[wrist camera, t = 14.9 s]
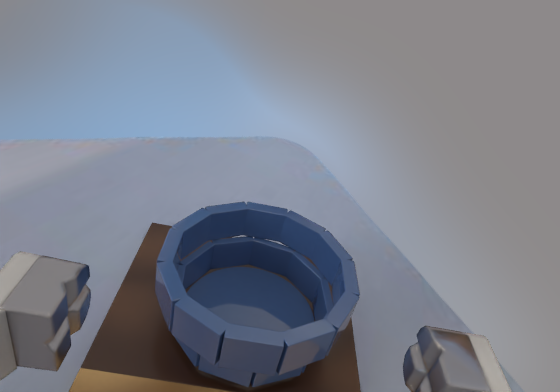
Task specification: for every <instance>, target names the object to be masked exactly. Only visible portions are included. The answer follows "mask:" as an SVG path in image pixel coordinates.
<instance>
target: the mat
mask: <svg viewBox="0 0 560 392" xmlns="http://www.w3.org/2000/svg"><path fill="white" fill-rule="evenodd" d="M170 228H171V229H172V226H168V225H162V224H157V223H152V224H151V226H150V228H149V230H148V232H147V234H146V236H145V238H144V240H143V242H142V244H141V246H140V248H139V250H138V252H137V254H136V256H135V258H134V260H133V262H132V265H131V267H130V269H129V271H128V273H127V275H126V277H125V279H124V281H123V283H122V285H121V287H120V289H119V291H118V293H117V295H116V297H115V299H114V301H113V303H112V305H111V307H110V309H109V311H108V313H107V315H106V317H105V319H104V321H103V323H102V325H101V327H100V329H99V331H98V333H97V335H96V337H95V339H94V342H93V344H92V346H91V348H90V350H89V352H88V354H87V356H86V358H85V360H84V362H83V364H82V366H81V368H85V369H91V370H98V371H104V372H110V373H117V374H123V375H129V376H136V377H142V378H149V379H155V380H161V381H168V382H174V383H180V384H187V385H193V386H200V387H206V388H212V389H219V390H225V391H231V392H361V391H360V383H359V375H358V368H357V360H356V352H355V344H354V336H353V328H352V321H351V318H350V321H349V323H348V325H347V326H346V328H345V330H344V331H343V333H342V334H341V336H340V337H339V339H338V340H337V342H336V344H335V345H334V347H333V348H332V350H331V351H330V353H329V354H328V356H325V358H324V359H321V360H319V361H316V362H313V363H311V364H309V366H308V367H307V369H306V370H305V371H304V373H302V372H301V374H300V375H299V376H296V377H292V378H288V379H284V380H280V381H276V382H272V383H268V384H265V385H261V386H257V387H252V385H251V382H250V385H249V387H246V386H243V385H240V384H237V383H234V382H231V381H229V380H226V379H223V378H220V377H217V376H214V375H212V374H209V373H206V372H203V371H200V370H198V367H199V365H198V366H197V367H195V366H194V365H193V363H192V362H191V360H190V359H189V358H188V356H187V355H186V353H185V352H184V350H183V349H182V347H181V346H180V344H179V343H178V342H177V340H176V339H175V337H174V336H173V335H172V333H171V331H169V329H168V326H167V324H166V321H165V318H164V315H163V313H162V310H161V307H160V304H159V302H158V299H157V296H156V294H155V283H156V266H157V258H158V256H159V253H160V251H161V249H162V246H163V244H164V241H165V239H166V236H167V234H168V231H169V229H170ZM228 238H233V237H228ZM222 239H225V238H222ZM207 242H208V241H207ZM207 242H206V243H207ZM211 242H212V240H211ZM206 243H204V244H206ZM204 244H203V245H204ZM203 245H201V246H203ZM201 246H200V247H201ZM200 247H199V248H200ZM199 248H197V249H199ZM197 249H196V250H197ZM196 250H194V251H196ZM194 251H193V252H194ZM294 251H295V250H294ZM193 252H192V253H193ZM192 253H190V254H192ZM190 254H189V255H190ZM189 255H187V256H189ZM187 256H186V257H187ZM303 256H304V255H303ZM186 257H184V258H183V259H185V258H186ZM304 257H305V258H306V259H307V260H308V261H309V262H311V263H312V264H313V265H314V266H315V267H316V265H315V264H314V263H313V262H312V260H311V259H309V258H308V257H306V256H304ZM183 259H182V260H183ZM182 260H181V261H182ZM233 267H250V268H257V269H261V268H258V267H255V266H252V265H241V266H233ZM225 268H230V267H225ZM316 268H317V267H316ZM220 269H224V268H218V269H210V270H209V271H208V272H207V273H205V274H204V275H203V276H205V275H207V274H209V273H211V272H214V271H217V270H220ZM317 269H318V268H317ZM261 270H264V269H261ZM318 270H319V269H318ZM265 271H267V270H265ZM268 272H270V271H268ZM271 273H273V272H271ZM273 274H275V275H278V276H280V277H281V278H283V279H285V280H286V281H288V282H289V283H291V284H292V285H293V286H294V287H296V286H295V285H294V284H293V283H292V282H291V281H290V280H288V279H287V278H286V277H285V276H282V275H279V274H276V273H273ZM203 276H202V277H203ZM202 277H200V278H199V279H201V278H202ZM199 279H198V280H199ZM325 279H326V278H325ZM198 280H197V281H198ZM197 281H195V282H194V283H196V282H197ZM194 283H193V284H194ZM193 284H192V285H193ZM328 284H329V282H328ZM192 285H190V286H189V287H188V288H187V289H185V290H186V293H187V291H188V290H189V289H190V288H191V286H192ZM296 288H297V287H296ZM329 288H330V292H331V297H332V287H331V285H330V284H329ZM297 289H298V288H297ZM298 290H299V289H298ZM299 291H300V290H299ZM300 292H301V291H300ZM301 294H302V295H303V296H304V297H305V299H306V300H307V302H308V304H309V305H310V308H311V310H312V313H313V316H314V312H313V306H312V302H311V301H310V300H309V299H308V298H307V297H306V296H305V295H304V294H303V293H302V292H301ZM332 301H333V297H332ZM314 321H315V317H314Z"/></svg>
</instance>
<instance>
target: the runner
mask: <svg viewBox="0 0 560 392" xmlns="http://www.w3.org/2000/svg"><path fill="white" fill-rule="evenodd" d="M69 392H231V391H225V390H219V389H212V388H206V387H200V386H193V385H187V384H180V383H174V382H168V381H161V380H155V379H149V378H142V377H136V376H129V375H123V374H117V373H110V372H104V371H98V370H91V369H85V368H80V370H79V372H78V374H77V376H76V378H75V380H74V382H73V384H72V386H71V388H70V390H69Z"/></svg>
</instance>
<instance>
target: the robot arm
mask: <svg viewBox="0 0 560 392" xmlns="http://www.w3.org/2000/svg"><path fill="white" fill-rule="evenodd" d="M89 277H90V273H89V266H88V265H86V264H81V263H76V262H72V261H67V260H62V259H57V258H52V257H47V256H41V255H36V254H31V253H26V252H21V251H20V252H18V253H17V254H15V255H13V256H12V257H11V258H10V260H9V261H8V262H7V263H6V264H5V265H4V267H3V268H2V269H1V270H0V380H2V379H3V378H5V377H6V376H7V375H9V374H10V373H11V372H13V371H14V370H15V369H17V366H20V367H28V368H35V369H43V370H50V371H58V369H59V367H60V365H61V363H62V362H63V360H64V358H65V356H66V354H67V352H68V351H69V349H70V347H71V338H70V335H72V334H73V333H75V332H77V331H78V330H80V328H81V326H82V324H83V322H84V320H85V318H86V315H87V312H88V309H89V305H90V298H91V292H90V289H89V288H88V287H87V285H86V282H87V281H88V279H89ZM417 339H418V343H416V344H414V345H412V346H410V347H409V349H408V351H407V352H406V354H405V358H404V364H403V375H404V380H405V384H406V386H407V387H408V388H409V389H410V391H411V392H512V391H511V389H510V387H509V385H508V382H507V380H506V378H505V376H504V374H503V371H502V369H501V367H500V365H499V363H498V360H497V358H496V356H495V354H494V352H493V349H492V347H491V345H490V343H489V341H488V339H487V338H486V337H485V336H482V335H476V334H470V333H463V332H459V331H453V330H447V329H442V328H436V327H430V326H424V327H422V328H421V329H420V330H419V332H418V334H417Z"/></svg>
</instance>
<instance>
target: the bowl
mask: <svg viewBox="0 0 560 392" xmlns="http://www.w3.org/2000/svg"><path fill="white" fill-rule="evenodd" d="M325 230H326V229H325V228H324V227H322V226H320V225H318V224H316V223H314V222H312V221H310V220H308V219H307V218H305V217H303V216H301V215H299V214H297V213H295V212H293V211H291V210H290V211H289V212H288V209H285V208H279V207H274V206H269V205H263V204H258V203H252V202H247V205H246V203H245V202H238V203H230V204H222V205H215V206H207V207H205V209H204V208H201V209H199V210H198V211H196V212H194V213H193V214H191V215H190V216H188V217H186V218H185V219H183V220H181V221H180V222H178V223H176V224H175V225H173V226H172V229H171V228H170V229H169V231H168V234H167V236H166V239H165V241H164V244H163V246H162V249H161V251H160V253H159V256H158V258H157V266H156V283H155V294H156V296H157V299H158V302H159V304H160V307H161V310H162V313H163V315H164V318H165V321H166V324H167V326H168V329H169V331H171V333H172V335H173V336H174V337H175V339H176V340H177V342H178V343H179V344H180V346H181V347H182V349H183V350H184V352H185V353H186V355H187V356H188V358H189V359H190V360H191V362H192V363H193V365H194V366H195V367H197V366H198V365H199V367H198V370H200V371H203V372H206V373H209V374H212V375H214V376H217V377H220V378H223V379H226V380H229V381H231V382H234V383H237V384H240V385H243V386H246V387H249V385H250V382H251V385H252V387H257V386H261V385H265V384H268V383H272V382H276V381H280V380H284V379H288V378H292V377H296V376H299V375H300V374H301V372H302V373H304V371H305V370H306V369H307V367H308V366H309V364H311V363H313V362H316V361H319V360H321V359H324V358H325V356H328V354H329V353H330V351H331V350H332V348H333V347H334V345H335V344H336V342H337V340H338V339H339V337H340V336H341V334H342V333H343V331H344V330H345V328H346V326H347V325H348V323H349V321H350V318H351V316H352V314H353V311H354V309H355V307H356V304H357V302H358V300H359V295H360V293H359V287H358V281H357V275H356V270H355V264H354V261H352V257H351V256H350V255H349V254H348V252H347V251H346V250H345V249H344V248H343V247H342V246H341V244H340V243H339V242H338V241H337V240H336V239H335V238H334V236H333V235H332V234H331V233H330V232H329V231H325ZM239 235H245V236H246V237H236V238H228V237H234V236H239ZM253 237H254V239H253ZM222 238H225V239H222ZM265 239H268V240H265ZM211 240H212V242H211ZM269 240H273V241H279V242H281V243H283V244H284V245H286V246H284V245H281V244H278V243H275V242H272V241H269ZM207 241H208V242H207ZM206 242H207V243H206ZM204 243H206V244H204ZM203 244H204V245H203ZM201 245H203V246H201ZM200 246H201V247H200ZM287 246H288V247H287ZM199 247H200V248H199ZM197 248H199V249H197ZM196 249H197V250H196ZM194 250H196V251H194ZM294 250H295V251H294ZM193 251H194V252H193ZM192 252H193V253H192ZM190 253H192V254H190ZM189 254H190V255H189ZM187 255H189V256H187ZM303 255H304V256H306V257H308V258H309V259H311V260H312V262H313V263H314V264H315V265H316V267H317V268H318V269H319V270H318V269H317V268H316V267H315V266H314V265H313V264H312V263H311V262H309V261H308V260H307V259H306V258H305V257H304V256H303ZM186 256H187V257H186ZM184 257H186V258H185V259H183V258H184ZM182 259H183V260H182ZM181 260H182V261H181ZM241 265H252V266H255V267H258V268H261V269H264V270H261V269H257V268H250V267H233V266H241ZM225 267H230V268H225ZM218 268H224V269H220V270H217V271H214V272H211V273H209V274H207V275H205V276H203V275H204V274H205V273H207V272H208V271H209V270H210V269H218ZM265 270H267V271H265ZM268 271H270V272H268ZM271 272H273V273H276V274H279V275H282V276H285V277H286V278H287V279H288V280H290V281H291V282H292V283H293V284H294V285H295V286H296V287H297V288H298V289H299V290H300V291H301V292H302V293H303V294H304V295H305V296H306V297H307V298H308V299H309V300H310V301H311V302H312V306H313V312H314V316H313V313H312V310H311V308H310V305H309V304H308V302H307V300H306V299H305V297H304V296H303V295H302V294H301V292H300V291H299V290H298V289H297V288H296V287H294V286H293V285H292V284H291V283H289V282H288V281H286V280H285V279H283V278H281V277H280V276H278V275H275V274H273V273H271ZM202 276H203V277H202ZM200 277H202V278H201V279H199V278H200ZM325 278H326V279H325ZM198 279H199V280H198ZM197 280H198V281H197ZM195 281H197V282H196V283H194V282H195ZM328 282H329V284H330V285H331V287H332V297H333V301H332V297H331V292H330V288H329V284H328ZM193 283H194V284H193ZM192 284H193V285H192ZM190 285H192V286H191V288H190V289H189V290H188V291H187V293H186V290H185V289H187V288H188V287H189V286H190ZM314 317H315V321H314Z"/></svg>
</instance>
